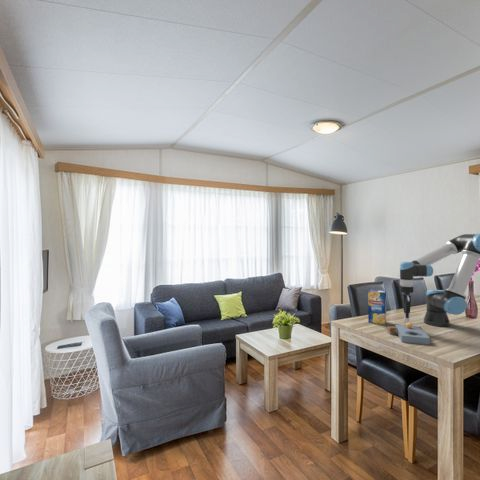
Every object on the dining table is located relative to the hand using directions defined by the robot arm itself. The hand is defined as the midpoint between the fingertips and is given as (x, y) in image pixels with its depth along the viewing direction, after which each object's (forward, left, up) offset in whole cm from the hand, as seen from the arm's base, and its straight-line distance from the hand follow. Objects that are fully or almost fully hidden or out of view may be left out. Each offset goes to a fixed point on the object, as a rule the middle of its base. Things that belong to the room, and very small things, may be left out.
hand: (406, 322), depth 194 cm
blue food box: (+16, -14, -5) cm, 22 cm away
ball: (0, +8, 0) cm, 8 cm away
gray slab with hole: (0, +14, -5) cm, 15 cm away
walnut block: (+10, +10, -5) cm, 15 cm away
